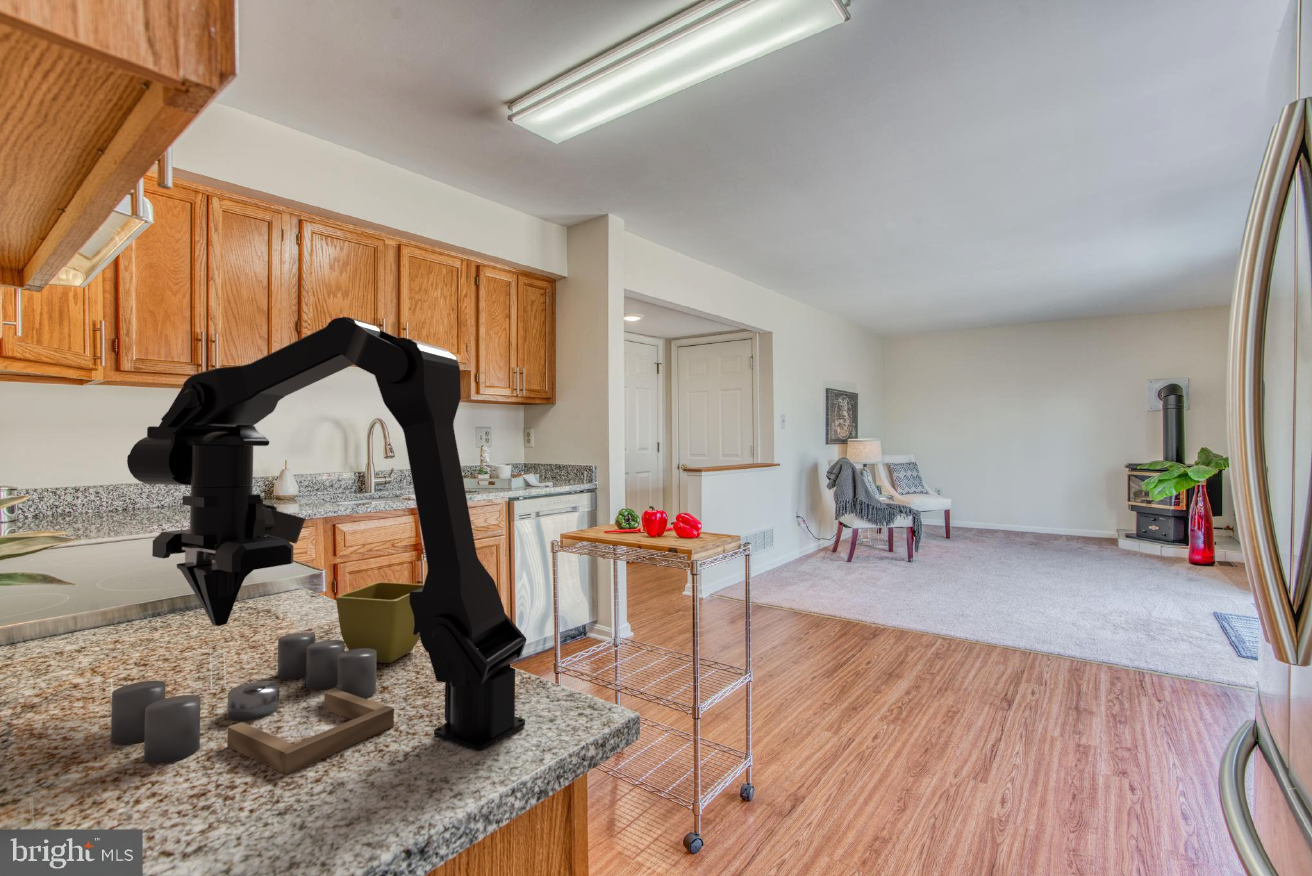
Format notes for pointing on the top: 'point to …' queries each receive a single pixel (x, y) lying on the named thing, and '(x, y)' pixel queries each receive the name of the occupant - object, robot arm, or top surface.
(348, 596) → the flower pot
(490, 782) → the top surface
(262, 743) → the corral
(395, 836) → the top surface
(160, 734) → the spacers
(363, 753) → the top surface
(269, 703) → the grey metallic short cylinder
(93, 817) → the top surface
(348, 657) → the spacers
